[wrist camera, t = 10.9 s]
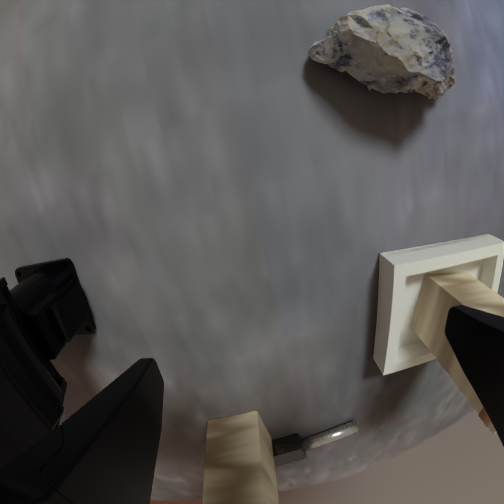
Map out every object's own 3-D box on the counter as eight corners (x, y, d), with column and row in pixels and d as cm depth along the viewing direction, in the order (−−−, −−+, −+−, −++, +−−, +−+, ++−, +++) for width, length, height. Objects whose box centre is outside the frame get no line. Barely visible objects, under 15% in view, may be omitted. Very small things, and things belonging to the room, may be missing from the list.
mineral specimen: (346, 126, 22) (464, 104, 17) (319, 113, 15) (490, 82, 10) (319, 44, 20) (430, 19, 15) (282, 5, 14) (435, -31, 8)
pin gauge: (266, 453, 29) (267, 468, 27) (258, 444, 28) (260, 460, 26) (355, 423, 28) (361, 438, 26) (352, 413, 27) (358, 428, 25)
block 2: (409, 328, 23) (492, 435, 11) (424, 273, 21) (534, 370, 9) (452, 322, 23) (535, 411, 11) (467, 271, 22) (569, 350, 9)
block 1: (226, 446, 28) (226, 551, 16) (207, 420, 26) (200, 539, 14) (271, 437, 28) (284, 545, 15) (256, 410, 26) (267, 534, 14)
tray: (373, 358, 25) (383, 375, 22) (379, 253, 21) (394, 265, 19) (472, 326, 25) (485, 339, 22) (488, 233, 21) (505, 242, 19)
